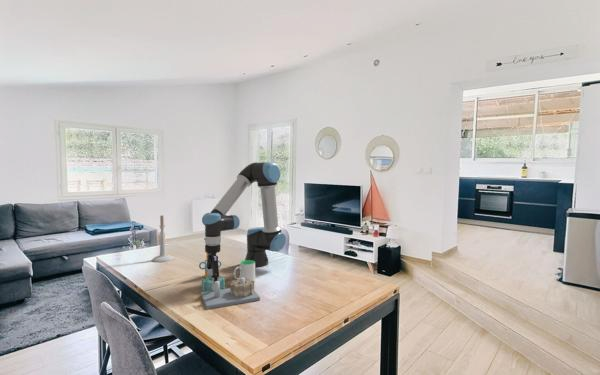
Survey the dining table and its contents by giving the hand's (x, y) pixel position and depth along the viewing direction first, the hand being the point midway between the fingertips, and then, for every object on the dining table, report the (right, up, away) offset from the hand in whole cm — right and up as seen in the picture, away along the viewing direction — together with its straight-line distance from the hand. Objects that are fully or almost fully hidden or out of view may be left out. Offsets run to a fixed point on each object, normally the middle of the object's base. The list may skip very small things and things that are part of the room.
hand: (212, 285), depth 168 cm
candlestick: (-47, +1, +53) cm, 71 cm away
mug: (+14, -1, +10) cm, 18 cm away
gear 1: (0, -2, 0) cm, 2 cm away
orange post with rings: (-6, -1, +19) cm, 20 cm away
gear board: (+11, -2, -12) cm, 16 cm away
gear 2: (+17, -1, -9) cm, 19 cm away
